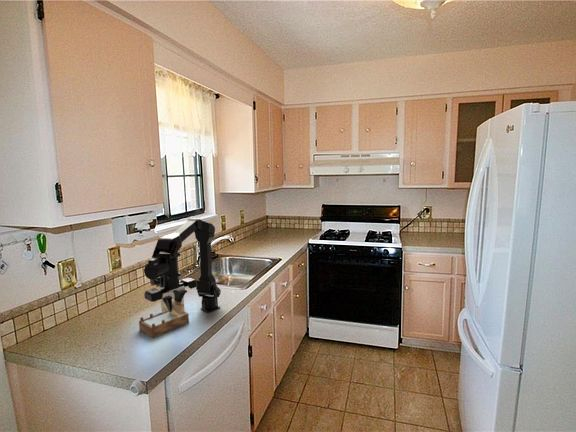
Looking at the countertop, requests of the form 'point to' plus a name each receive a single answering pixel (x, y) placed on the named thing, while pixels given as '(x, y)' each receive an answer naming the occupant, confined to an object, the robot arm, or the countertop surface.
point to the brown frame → (162, 324)
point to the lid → (161, 318)
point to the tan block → (175, 308)
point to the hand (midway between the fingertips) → (173, 310)
